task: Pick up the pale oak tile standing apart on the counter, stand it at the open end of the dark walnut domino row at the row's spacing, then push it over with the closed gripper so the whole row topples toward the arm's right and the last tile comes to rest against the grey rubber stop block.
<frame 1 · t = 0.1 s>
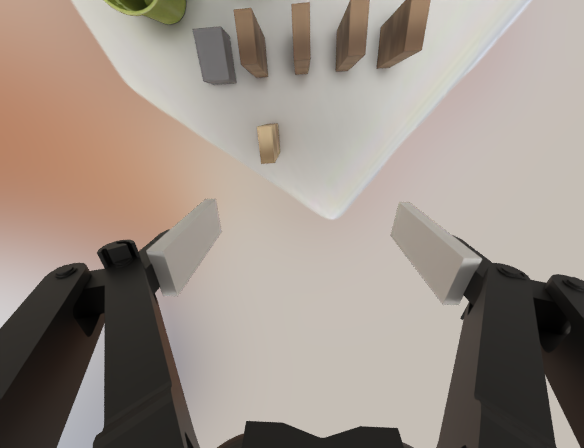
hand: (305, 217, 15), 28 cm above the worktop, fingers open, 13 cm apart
tile 3: (342, 51, 33), on the worktop
tile 4: (300, 55, 33), on the worktop
stop block: (220, 61, 34), on the worktop
tile 2: (385, 48, 32), on the worktop
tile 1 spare: (273, 138, 39), on the worktop
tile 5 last: (260, 58, 33), on the worktop
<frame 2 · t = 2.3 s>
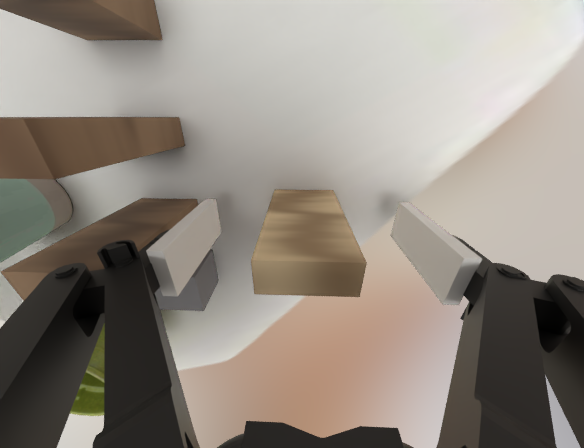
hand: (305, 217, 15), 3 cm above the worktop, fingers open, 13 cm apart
tile 3: (119, 19, 13), on the worktop
tile 4: (150, 131, 16), on the worktop
stop block: (187, 265, 22), on the worktop
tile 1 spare: (303, 200, 18), on the worktop
plant pot: (135, 305, 26), on the worktop
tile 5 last: (172, 209, 19), on the worktop, touching gripper
coffee cup: (41, 196, 19), on the worktop
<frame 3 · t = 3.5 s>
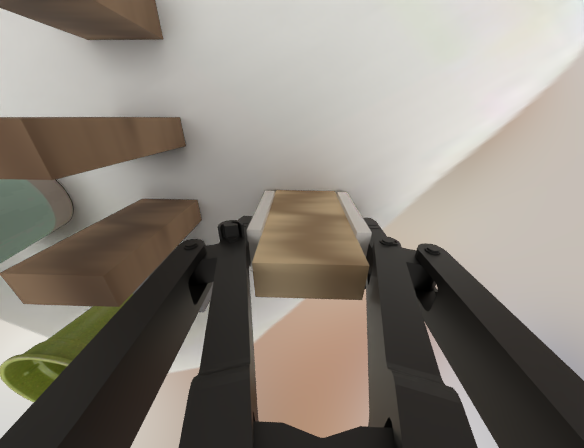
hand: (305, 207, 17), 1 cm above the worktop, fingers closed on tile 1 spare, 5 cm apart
tile 3: (119, 19, 13), on the worktop
tile 4: (151, 131, 16), on the worktop
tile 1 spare: (304, 201, 18), on the worktop, touching gripper
plant pot: (135, 306, 25), on the worktop
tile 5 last: (172, 209, 19), on the worktop
coffee cup: (41, 196, 19), on the worktop
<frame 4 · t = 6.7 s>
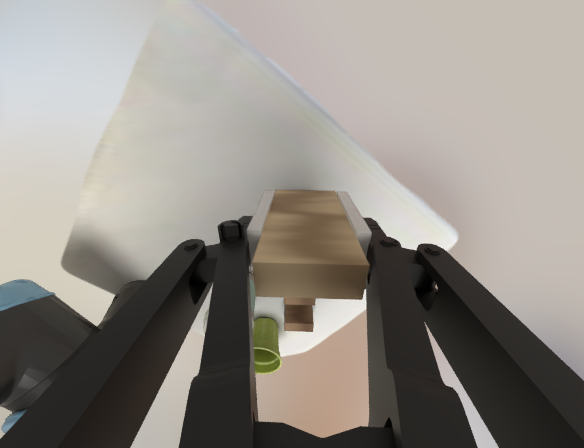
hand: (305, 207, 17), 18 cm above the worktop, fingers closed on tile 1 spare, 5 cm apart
tile 4: (299, 261, 42), on the worktop
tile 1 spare: (304, 201, 18), point 17 cm above the worktop, touching gripper
plant pot: (265, 324, 52), on the worktop
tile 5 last: (298, 286, 45), on the worktop
coffee cup: (243, 280, 45), on the worktop
when the fingers open (2 cm above the worktop, at t = 10.2 s): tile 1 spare stays where it is, on the worktop.
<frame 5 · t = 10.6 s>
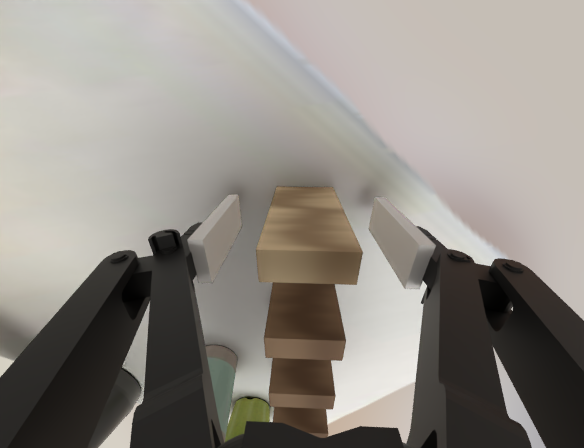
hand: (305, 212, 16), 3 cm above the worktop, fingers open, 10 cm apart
tile 3: (301, 300, 25), on the worktop
tile 4: (299, 335, 28), on the worktop
tile 2: (302, 256, 22), on the worktop
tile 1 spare: (304, 197, 19), on the worktop
plant pot: (252, 403, 37), on the worktop
coffee cup: (218, 355, 31), on the worktop
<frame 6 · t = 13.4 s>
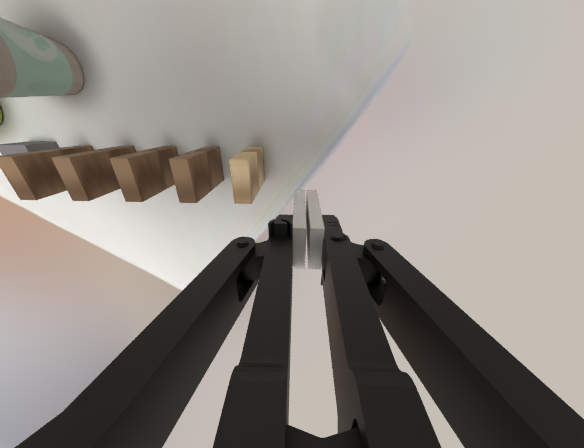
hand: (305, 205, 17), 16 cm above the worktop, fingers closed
tile 3: (173, 163, 33), on the worktop
tile 4: (133, 162, 33), on the worktop
stop block: (53, 162, 33), on the worktop
tile 2: (215, 163, 32), on the worktop
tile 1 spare: (257, 164, 32), on the worktop
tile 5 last: (92, 162, 33), on the worktop
coffee cup: (62, 69, 28), on the worktop
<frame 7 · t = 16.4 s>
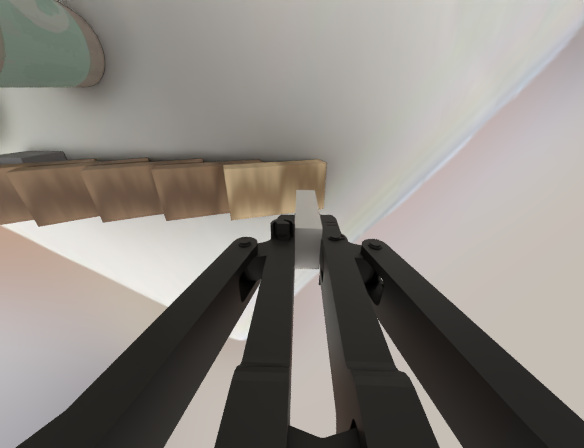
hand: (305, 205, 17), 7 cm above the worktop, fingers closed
tile 3: (207, 182, 24), point 1 cm above the worktop, tilted 64°, touching tile 2, tile 4
tile 4: (154, 181, 24), point 1 cm above the worktop, tilted 56°, touching tile 3, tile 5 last
stop block: (58, 177, 25), on the worktop
tile 2: (262, 184, 23), point 1 cm above the worktop, tilted 69°, touching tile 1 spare, tile 3
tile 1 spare: (321, 184, 23), point 1 cm above the worktop, tilted 71°, touching tile 2
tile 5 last: (103, 183, 23), point 2 cm above the worktop, tilted 55°, touching stop block, tile 4
coffee cup: (74, 49, 19), on the worktop
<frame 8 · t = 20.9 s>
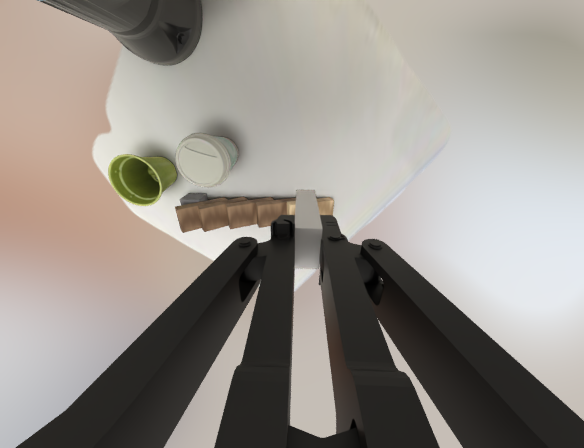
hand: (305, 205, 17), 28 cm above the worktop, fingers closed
tile 3: (272, 208, 48), point 1 cm above the worktop, tilted 62°, touching tile 2, tile 4
tile 4: (246, 208, 48), point 1 cm above the worktop, tilted 52°, touching tile 3, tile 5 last
stop block: (200, 205, 49), on the worktop
tile 2: (301, 209, 47), point 1 cm above the worktop, tilted 68°, touching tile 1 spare, tile 3
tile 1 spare: (330, 209, 47), point 1 cm above the worktop, tilted 71°, touching tile 2
plant pot: (163, 170, 46), on the worktop
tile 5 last: (227, 208, 47), point 1 cm above the worktop, tilted 52°, touching stop block, tile 4
coffee cup: (224, 152, 43), on the worktop
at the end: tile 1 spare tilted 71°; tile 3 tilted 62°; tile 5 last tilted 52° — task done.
